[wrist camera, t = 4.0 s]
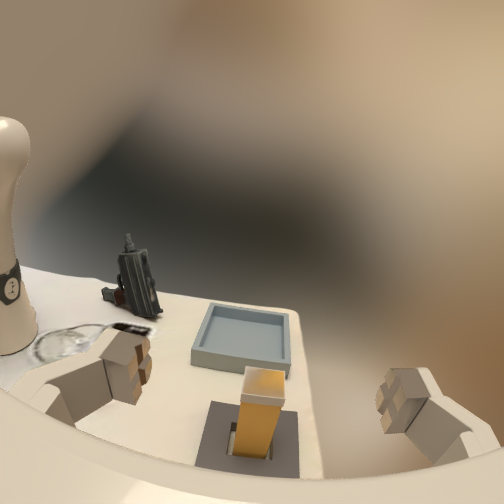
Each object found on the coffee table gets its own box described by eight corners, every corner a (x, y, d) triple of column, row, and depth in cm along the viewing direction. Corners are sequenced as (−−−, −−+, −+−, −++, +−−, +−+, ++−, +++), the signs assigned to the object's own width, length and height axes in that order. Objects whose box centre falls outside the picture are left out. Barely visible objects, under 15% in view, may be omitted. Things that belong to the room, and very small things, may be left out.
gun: (95, 236, 59) (145, 230, 54) (113, 306, 63) (163, 311, 58) (86, 239, 57) (137, 233, 52) (105, 311, 61) (156, 317, 56)
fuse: (230, 458, 30) (241, 393, 26) (234, 434, 34) (245, 366, 30) (264, 463, 30) (285, 398, 26) (266, 438, 34) (284, 371, 30)
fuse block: (193, 477, 27) (193, 470, 26) (210, 409, 38) (211, 400, 38) (295, 489, 27) (299, 483, 26) (294, 420, 38) (297, 411, 37)
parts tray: (191, 364, 47) (191, 348, 46) (209, 316, 62) (210, 302, 61) (286, 379, 46) (291, 363, 45) (285, 327, 61) (288, 313, 60)
